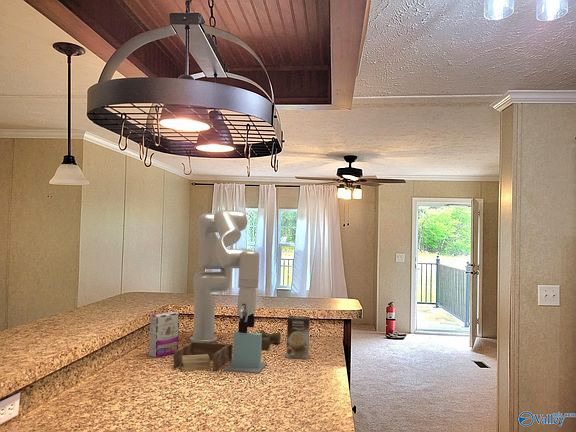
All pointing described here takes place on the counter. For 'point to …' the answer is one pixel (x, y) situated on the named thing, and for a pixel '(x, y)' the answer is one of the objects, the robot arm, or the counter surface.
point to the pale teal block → (247, 349)
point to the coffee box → (298, 337)
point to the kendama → (269, 339)
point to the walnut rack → (214, 350)
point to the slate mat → (245, 368)
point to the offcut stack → (195, 362)
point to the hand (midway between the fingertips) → (246, 329)
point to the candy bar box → (164, 334)
